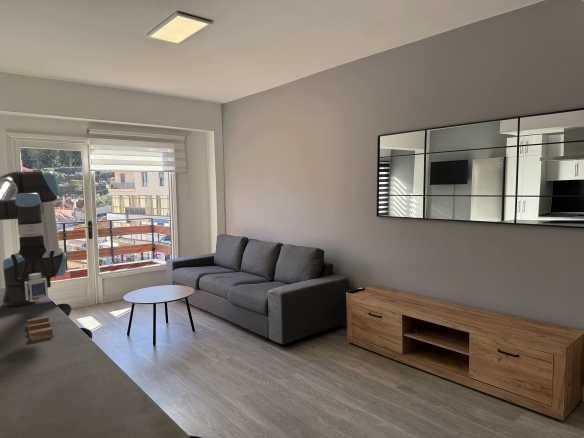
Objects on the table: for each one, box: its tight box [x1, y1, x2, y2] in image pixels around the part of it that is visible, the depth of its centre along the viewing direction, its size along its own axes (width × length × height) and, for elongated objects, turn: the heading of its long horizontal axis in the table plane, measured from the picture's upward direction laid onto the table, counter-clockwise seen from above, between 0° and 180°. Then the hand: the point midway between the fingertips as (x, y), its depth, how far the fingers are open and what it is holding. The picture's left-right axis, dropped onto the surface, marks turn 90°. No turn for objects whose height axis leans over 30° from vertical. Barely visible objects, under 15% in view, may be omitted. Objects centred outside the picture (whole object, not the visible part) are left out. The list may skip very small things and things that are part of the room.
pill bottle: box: [27, 273, 47, 303], centre depth 149 cm, size 5×5×10 cm
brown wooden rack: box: [27, 315, 54, 343], centre depth 154 cm, size 20×7×3 cm, turn 35°
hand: (37, 297), depth 149 cm, fingers closed on pill bottle, 5 cm apart
